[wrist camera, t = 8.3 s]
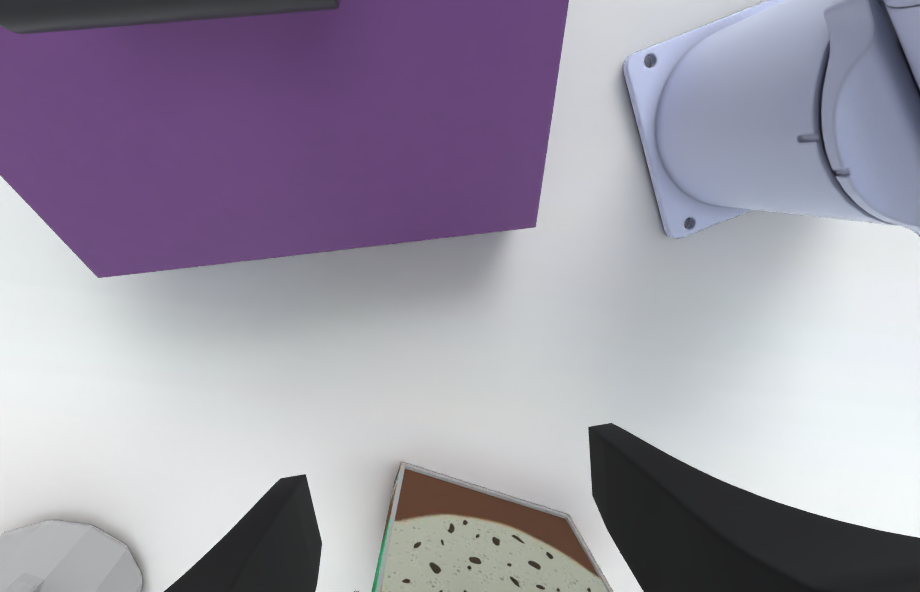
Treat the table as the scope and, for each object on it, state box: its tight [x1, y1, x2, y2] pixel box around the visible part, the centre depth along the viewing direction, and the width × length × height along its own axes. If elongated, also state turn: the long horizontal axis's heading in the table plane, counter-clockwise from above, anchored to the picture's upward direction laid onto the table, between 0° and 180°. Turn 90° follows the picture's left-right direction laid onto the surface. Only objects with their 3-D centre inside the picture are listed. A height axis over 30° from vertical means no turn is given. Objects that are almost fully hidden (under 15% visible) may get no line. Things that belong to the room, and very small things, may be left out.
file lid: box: [0, 0, 569, 278], centre depth 11 cm, size 12×15×4 cm
